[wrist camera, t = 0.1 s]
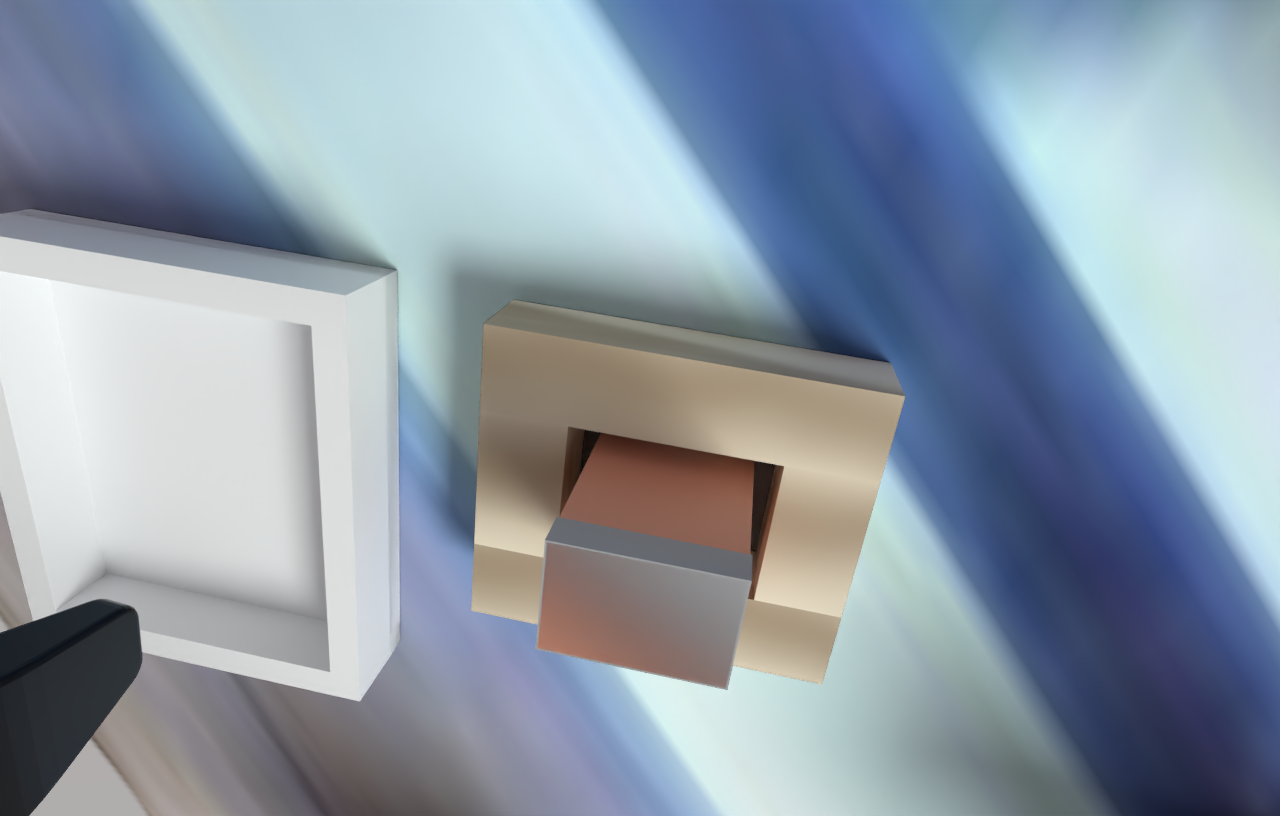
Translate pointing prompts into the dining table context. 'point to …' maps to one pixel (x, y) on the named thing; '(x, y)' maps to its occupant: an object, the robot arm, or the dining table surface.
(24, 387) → the parts tray
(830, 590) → the socket
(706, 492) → the block
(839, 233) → the dining table surface
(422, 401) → the dining table surface
